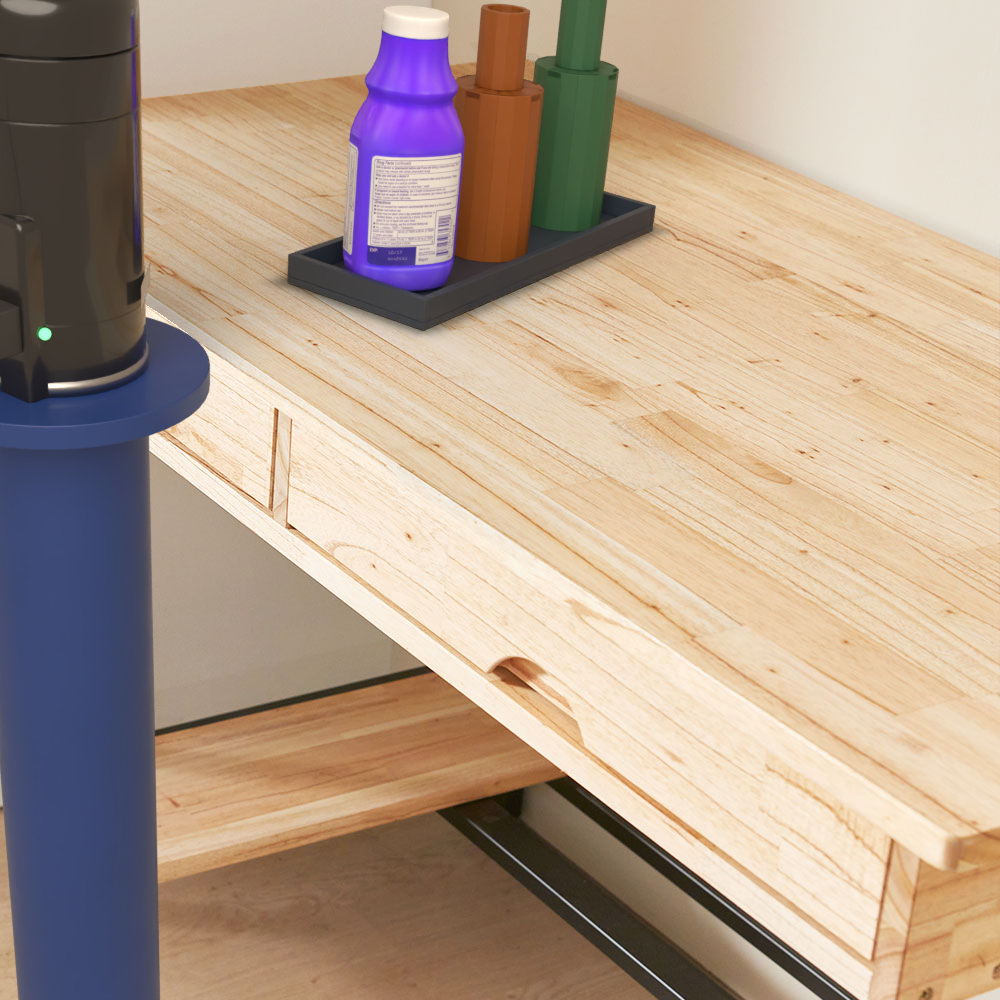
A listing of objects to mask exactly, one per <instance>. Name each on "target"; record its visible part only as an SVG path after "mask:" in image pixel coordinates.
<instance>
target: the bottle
mask: <svg viewBox="0 0 1000 1000" xmlns="http://www.w3.org/2000/svg"><path fill="white" fill-rule="evenodd" d="M450 20H451V19H450V14H449V13H448V12H446V11H444V10H441V9H437V8H433V7H427V6H419V5H406V4H405V5H403V4H402V5H391V6H390V5H389V6H386V7H385V8H383V11H382V21H381V27H380V28H381V36H380V44H379V49H378V51H377V52H378V53H377V56H376V59H375V61H374V62H373V65H371V68H370V69H369V71H368V72H367V73H366V75H365V78H364V84H365V86H366V88H367V90H368V94H367V96H366V98H365V99H364V101H363V102H362V104H361V105H360V107H359V108H358V111H357V113H356V114H355V117H354V119H353V122H352V124H351V126H350V131H349V139H348V148H347V149H348V150H347V165H346V166H347V168H346V182H345V183H346V184H345V199H344V200H345V202H344V218H343V235H342V236H343V258H344V264H345V268H346V270H348V271H351V272H354V273H356V274H359V275H362V276H365V277H368V278H371V279H374V280H377V281H380V282H383V283H386V284H389V285H392V286H395V287H398V288H401V289H404V290H407V291H410V292H412V291H424V290H430V289H435V288H438V287H441V286H443V285H444V284H445V282H446V281H447V279H448V277H449V275H450V273H451V270H452V267H453V262H454V252H455V245H456V232H457V221H458V210H459V201H460V188H461V178H462V168H463V157H464V147H465V138H464V134H463V130H462V127H461V123H460V121H459V118H458V115H457V113H456V110H455V108H454V105H453V101H452V99H453V97H454V96H455V94H456V93H457V90H458V85H457V83H456V81H455V80H456V79H455V76H454V75H453V74H454V73H453V72H452V69H451V65H450V58H449V36H450Z"/></svg>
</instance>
